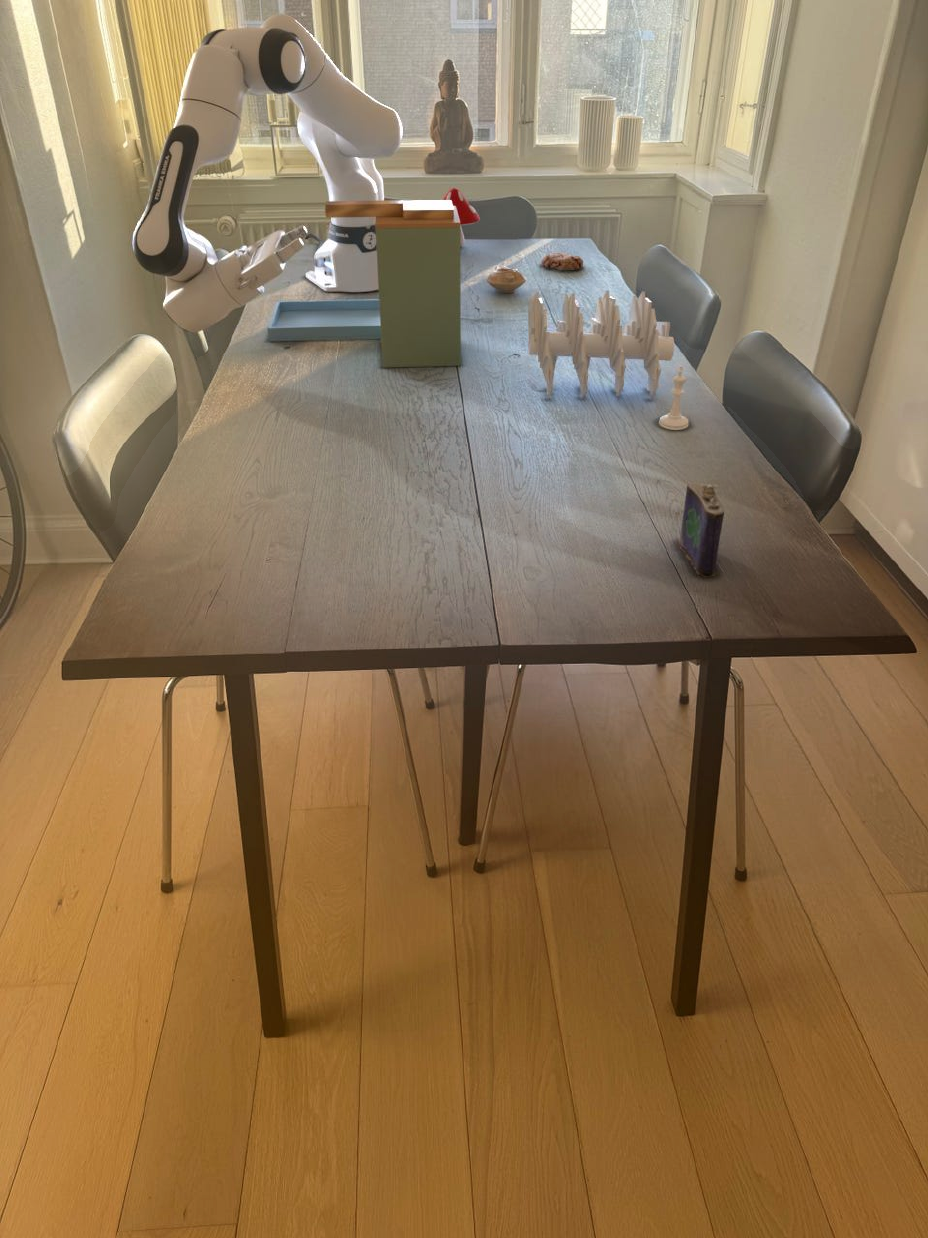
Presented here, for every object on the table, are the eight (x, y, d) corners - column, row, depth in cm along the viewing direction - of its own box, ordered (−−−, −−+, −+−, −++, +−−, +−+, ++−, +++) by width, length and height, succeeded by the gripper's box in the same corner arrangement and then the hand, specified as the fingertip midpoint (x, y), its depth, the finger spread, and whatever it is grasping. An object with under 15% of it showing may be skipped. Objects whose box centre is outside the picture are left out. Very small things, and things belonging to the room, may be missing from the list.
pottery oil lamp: (516, 278, 230) (528, 254, 225) (516, 309, 223) (529, 285, 218) (482, 266, 228) (493, 242, 222) (482, 297, 221) (493, 272, 215)
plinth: (382, 367, 182) (375, 223, 167) (383, 343, 193) (376, 206, 178) (460, 365, 182) (460, 222, 167) (456, 341, 194) (455, 205, 179)
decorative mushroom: (423, 252, 253) (421, 191, 244) (433, 240, 264) (432, 181, 255) (475, 254, 251) (475, 193, 242) (483, 242, 262) (483, 183, 253)
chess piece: (690, 420, 161) (698, 362, 155) (686, 431, 157) (694, 373, 151) (661, 416, 162) (668, 359, 156) (656, 427, 158) (663, 369, 152)
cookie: (542, 261, 246) (543, 249, 244) (583, 262, 244) (584, 250, 243) (539, 271, 237) (540, 259, 236) (582, 273, 236) (583, 260, 234)
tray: (269, 341, 194) (267, 327, 192) (277, 313, 209) (276, 300, 208) (423, 338, 196) (423, 324, 194) (421, 310, 211) (420, 298, 209)
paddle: (324, 220, 169) (323, 207, 167) (327, 210, 175) (326, 198, 174) (453, 218, 170) (453, 205, 169) (451, 209, 176) (451, 196, 175)
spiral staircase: (664, 422, 170) (525, 416, 169) (655, 350, 179) (522, 344, 177) (690, 346, 154) (537, 339, 153) (679, 271, 163) (534, 265, 162)
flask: (675, 541, 127) (686, 468, 121) (696, 540, 127) (708, 467, 121) (698, 578, 120) (711, 502, 113) (721, 576, 120) (735, 501, 114)
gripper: (224, 276, 167) (288, 233, 164) (239, 246, 184) (297, 207, 180) (246, 306, 170) (309, 265, 167) (259, 275, 187) (317, 237, 184)
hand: (303, 235), depth 174 cm, fingers open, 8 cm apart
